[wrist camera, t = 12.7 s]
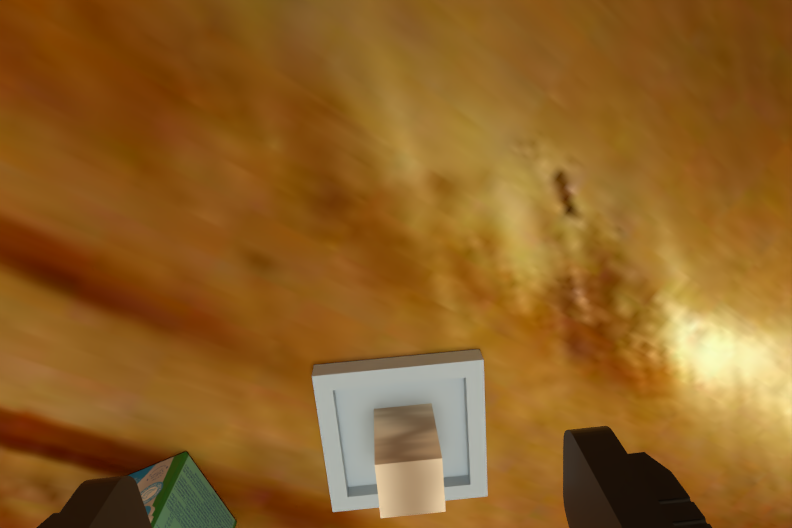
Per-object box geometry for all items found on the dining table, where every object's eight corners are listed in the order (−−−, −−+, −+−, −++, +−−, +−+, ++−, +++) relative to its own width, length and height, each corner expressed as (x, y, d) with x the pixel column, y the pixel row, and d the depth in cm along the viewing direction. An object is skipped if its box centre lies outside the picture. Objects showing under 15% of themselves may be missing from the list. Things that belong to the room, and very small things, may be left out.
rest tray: (479, 349, 44) (483, 359, 43) (483, 481, 49) (487, 496, 47) (314, 364, 44) (311, 376, 42) (334, 497, 49) (332, 511, 47)
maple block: (431, 403, 45) (442, 458, 38) (434, 451, 47) (445, 511, 40) (373, 408, 45) (374, 465, 38) (378, 456, 47) (380, 518, 40)
